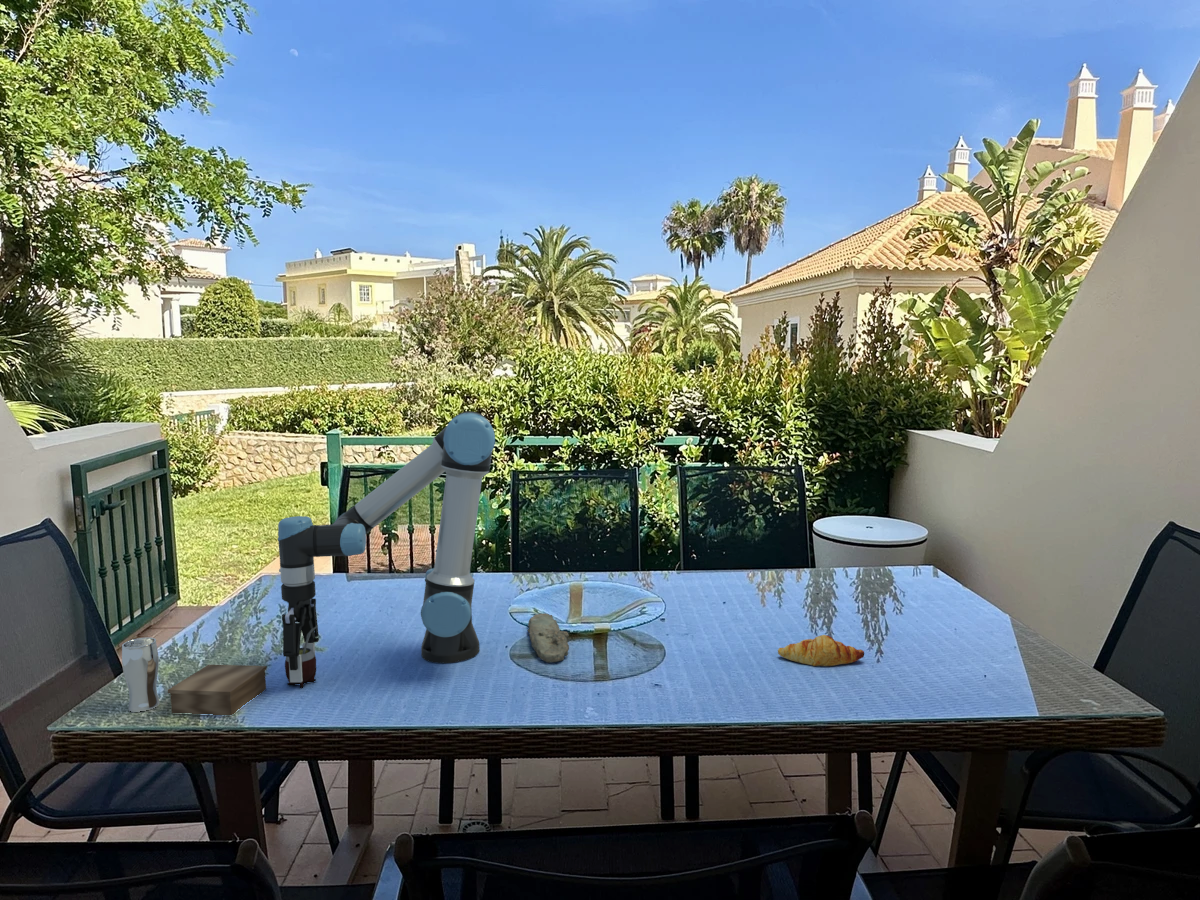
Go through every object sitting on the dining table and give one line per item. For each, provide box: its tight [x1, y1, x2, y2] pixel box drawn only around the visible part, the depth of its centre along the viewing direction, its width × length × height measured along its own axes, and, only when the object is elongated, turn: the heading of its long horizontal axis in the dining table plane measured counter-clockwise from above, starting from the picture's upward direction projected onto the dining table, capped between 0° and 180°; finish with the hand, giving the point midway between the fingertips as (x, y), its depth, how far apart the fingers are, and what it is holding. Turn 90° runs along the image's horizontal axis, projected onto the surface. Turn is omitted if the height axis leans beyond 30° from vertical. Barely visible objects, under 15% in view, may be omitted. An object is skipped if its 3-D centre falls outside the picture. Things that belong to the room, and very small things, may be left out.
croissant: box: [777, 634, 865, 667], centre depth 193 cm, size 21×10×8 cm, turn 81°
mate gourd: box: [284, 625, 319, 689], centre depth 183 cm, size 8×8×15 cm
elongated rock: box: [527, 613, 570, 663], centre depth 210 cm, size 35×5×10 cm
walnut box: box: [167, 664, 268, 715], centre depth 174 cm, size 15×15×6 cm
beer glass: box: [121, 637, 161, 713], centre depth 171 cm, size 7×7×15 cm
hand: (303, 675), depth 183 cm, fingers closed on mate gourd, 7 cm apart
